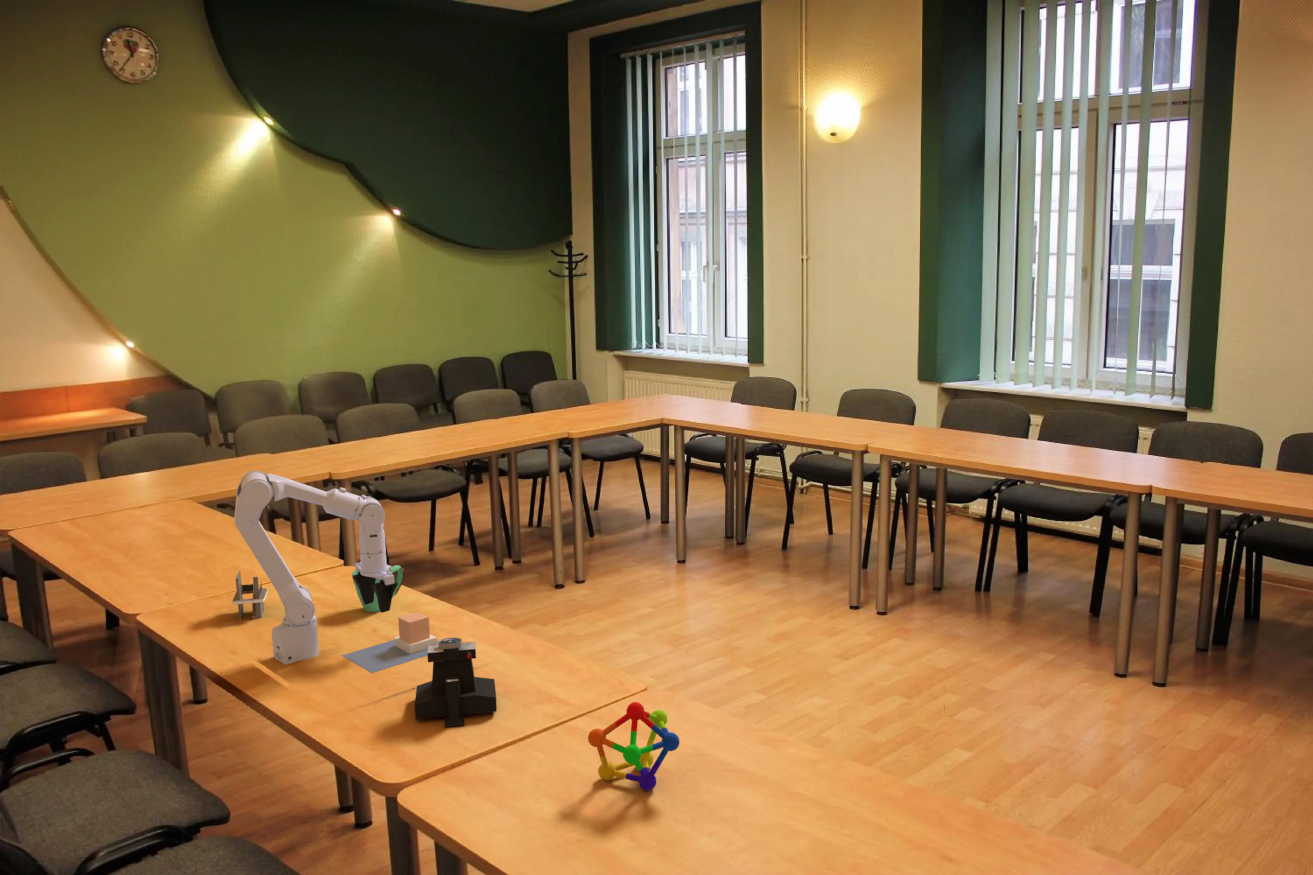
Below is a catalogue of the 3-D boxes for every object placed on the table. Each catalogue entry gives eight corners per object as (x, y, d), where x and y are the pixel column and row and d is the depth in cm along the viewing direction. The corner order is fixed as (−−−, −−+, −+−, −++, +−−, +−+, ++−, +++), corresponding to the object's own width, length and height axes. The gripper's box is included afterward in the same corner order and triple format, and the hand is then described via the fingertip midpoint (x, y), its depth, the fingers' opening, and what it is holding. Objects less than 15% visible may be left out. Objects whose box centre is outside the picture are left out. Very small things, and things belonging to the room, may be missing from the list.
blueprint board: (372, 676, 237) (371, 664, 236) (341, 658, 247) (340, 646, 246) (451, 651, 250) (450, 639, 249) (419, 635, 260) (418, 624, 259)
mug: (371, 618, 272) (369, 580, 270) (346, 610, 278) (343, 573, 276) (416, 601, 284) (414, 565, 282) (391, 594, 289) (389, 558, 287)
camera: (491, 629, 226) (494, 649, 212) (495, 696, 228) (497, 721, 213) (413, 635, 224) (411, 656, 209) (417, 703, 225) (415, 729, 210)
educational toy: (638, 815, 181) (630, 734, 177) (588, 788, 190) (578, 711, 186) (702, 774, 191) (695, 696, 187) (651, 750, 200) (644, 676, 196)
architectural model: (222, 606, 284) (218, 565, 282) (290, 600, 287) (286, 560, 285) (211, 631, 266) (206, 588, 264) (283, 624, 270) (279, 582, 268)
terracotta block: (410, 643, 247) (409, 622, 247) (399, 637, 251) (398, 617, 250) (429, 637, 251) (428, 617, 250) (418, 632, 254) (417, 611, 253)
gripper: (404, 553, 247) (408, 610, 250) (373, 540, 258) (376, 595, 260) (376, 560, 242) (380, 618, 245) (345, 547, 253) (349, 602, 255)
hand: (376, 607), depth 252 cm, fingers open, 7 cm apart
